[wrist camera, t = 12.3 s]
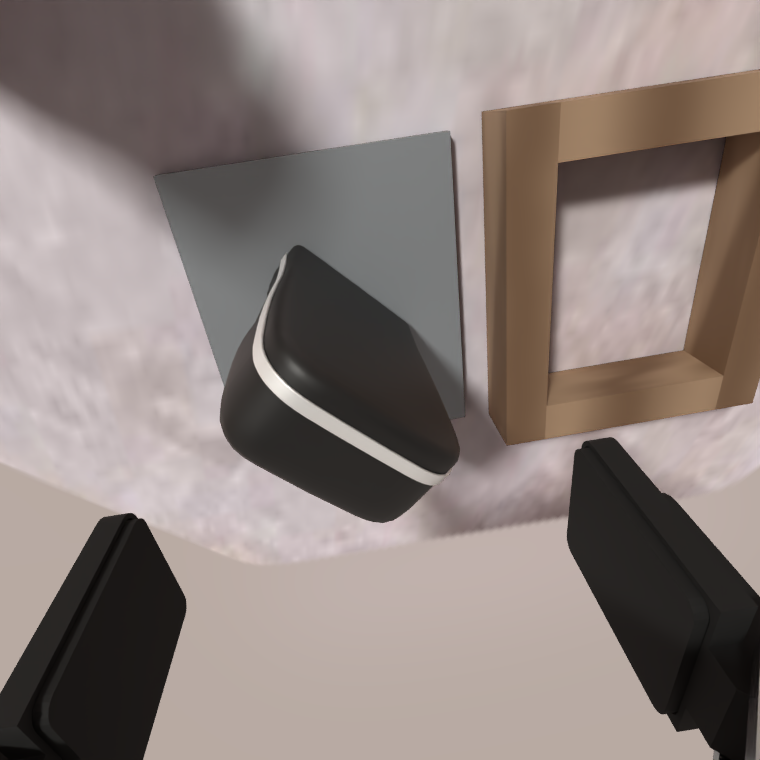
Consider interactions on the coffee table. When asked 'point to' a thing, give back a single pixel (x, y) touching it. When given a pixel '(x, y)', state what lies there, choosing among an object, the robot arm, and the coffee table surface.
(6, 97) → the coffee table surface
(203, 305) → the mat
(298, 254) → the battery charger
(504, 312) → the frame
